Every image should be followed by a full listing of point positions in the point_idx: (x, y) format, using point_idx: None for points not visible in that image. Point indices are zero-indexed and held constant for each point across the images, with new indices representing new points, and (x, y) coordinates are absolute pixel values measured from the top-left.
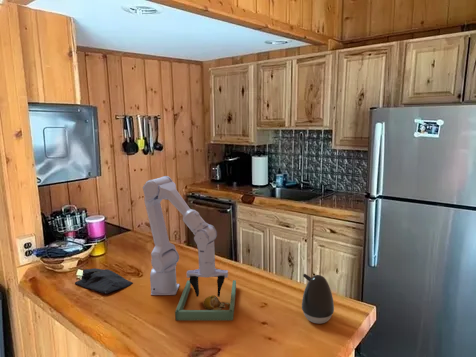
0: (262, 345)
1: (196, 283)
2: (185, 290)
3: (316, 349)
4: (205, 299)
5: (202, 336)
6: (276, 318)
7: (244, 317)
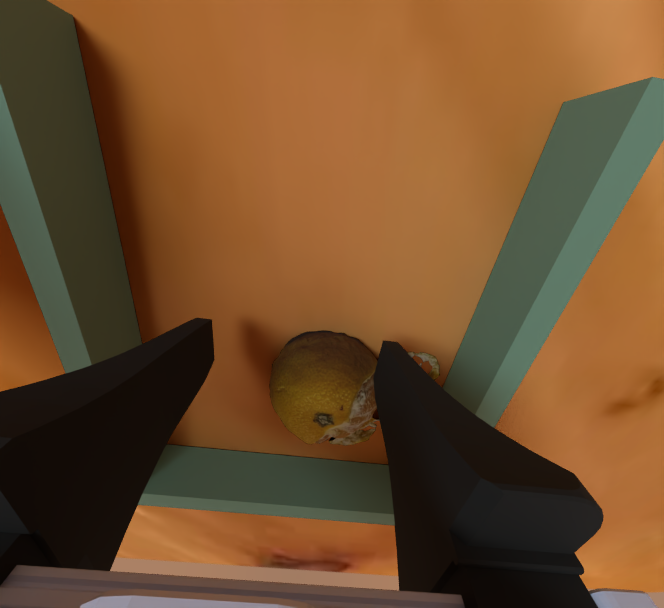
0: None
1: (125, 522)
2: (50, 274)
3: (620, 585)
4: (278, 410)
5: (288, 529)
6: (616, 485)
7: None
